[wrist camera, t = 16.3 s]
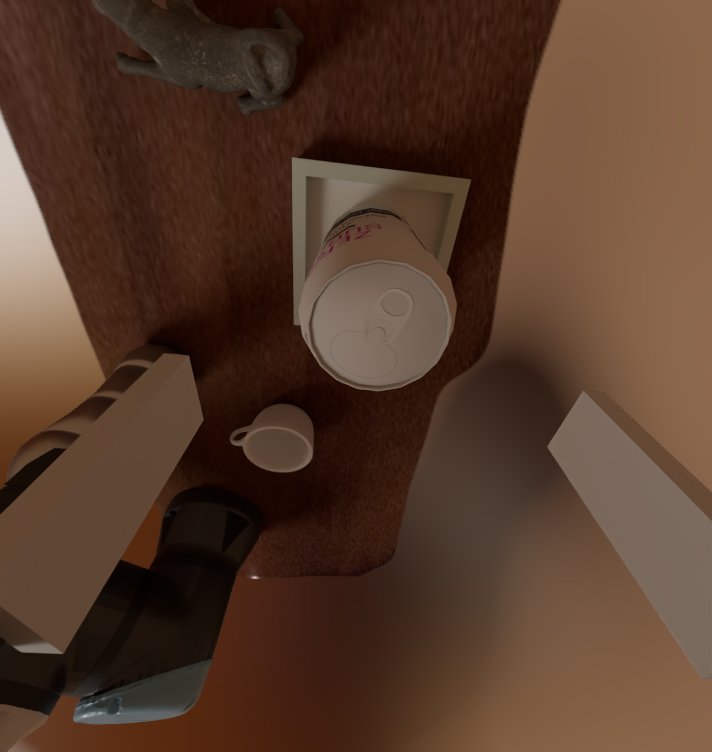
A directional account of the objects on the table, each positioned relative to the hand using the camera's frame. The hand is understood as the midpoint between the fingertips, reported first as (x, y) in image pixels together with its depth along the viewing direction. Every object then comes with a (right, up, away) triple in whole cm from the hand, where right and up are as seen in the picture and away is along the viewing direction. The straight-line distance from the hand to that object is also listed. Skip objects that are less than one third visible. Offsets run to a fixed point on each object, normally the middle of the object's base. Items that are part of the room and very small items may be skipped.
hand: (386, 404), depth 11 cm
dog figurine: (-10, +23, +10) cm, 27 cm away
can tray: (0, +12, +17) cm, 21 cm away
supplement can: (0, +12, +17) cm, 21 cm away
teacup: (-11, -4, +29) cm, 31 cm away
